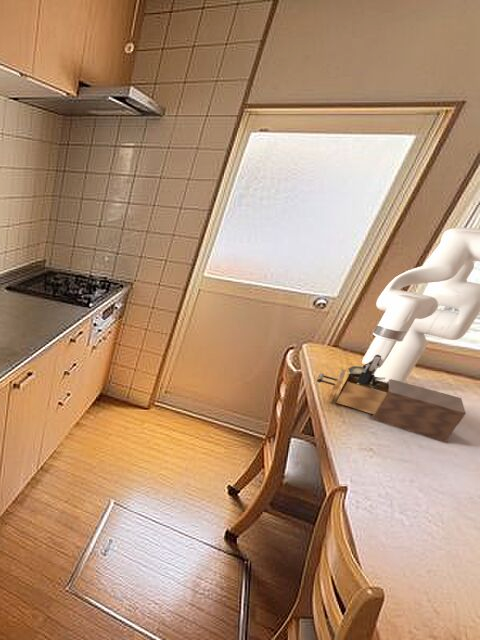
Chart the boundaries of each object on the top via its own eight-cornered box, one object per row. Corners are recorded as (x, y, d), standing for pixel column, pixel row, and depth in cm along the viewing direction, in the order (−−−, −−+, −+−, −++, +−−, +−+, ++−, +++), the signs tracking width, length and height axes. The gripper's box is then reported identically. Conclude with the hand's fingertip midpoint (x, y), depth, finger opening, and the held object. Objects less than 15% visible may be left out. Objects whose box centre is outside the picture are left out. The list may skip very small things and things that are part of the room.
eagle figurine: (360, 391, 150) (340, 372, 152) (381, 378, 147) (361, 359, 149) (369, 394, 143) (349, 374, 145) (392, 381, 141) (370, 361, 142)
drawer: (308, 395, 153) (320, 374, 149) (314, 385, 162) (324, 364, 158) (387, 420, 140) (401, 397, 136) (388, 407, 149) (401, 385, 145)
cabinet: (371, 419, 142) (388, 391, 137) (373, 405, 152) (389, 378, 147) (444, 442, 132) (465, 413, 127) (441, 425, 141) (461, 398, 136)
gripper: (376, 324, 146) (351, 369, 154) (373, 335, 135) (347, 383, 143) (404, 331, 142) (378, 377, 150) (404, 342, 130) (375, 391, 138)
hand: (363, 380), depth 146 cm, fingers closed on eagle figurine, 8 cm apart
